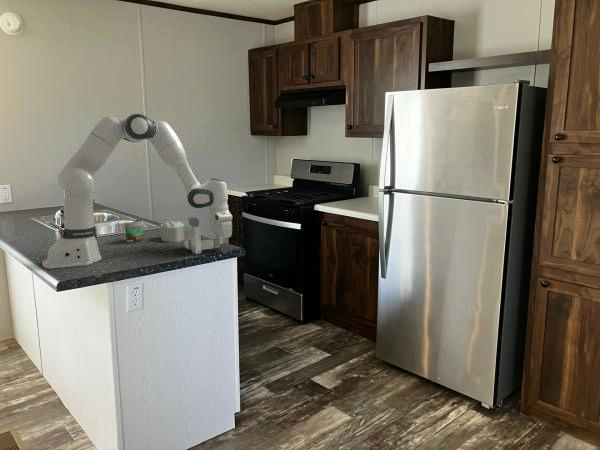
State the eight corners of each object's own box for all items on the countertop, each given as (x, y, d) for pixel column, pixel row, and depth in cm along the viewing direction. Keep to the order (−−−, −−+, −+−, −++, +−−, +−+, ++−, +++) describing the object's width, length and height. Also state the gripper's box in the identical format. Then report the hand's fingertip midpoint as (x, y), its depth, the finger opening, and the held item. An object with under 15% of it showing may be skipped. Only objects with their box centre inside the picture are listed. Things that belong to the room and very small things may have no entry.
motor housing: (195, 254, 221) (194, 220, 218) (184, 247, 234) (183, 215, 231) (201, 253, 223) (199, 219, 220) (190, 246, 235) (188, 214, 232)
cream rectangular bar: (193, 251, 226) (193, 243, 226) (190, 249, 230) (190, 241, 229) (219, 247, 233) (219, 239, 232) (216, 246, 236) (216, 238, 235)
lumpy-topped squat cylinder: (173, 242, 244) (172, 225, 242) (155, 239, 251) (154, 222, 249) (189, 238, 252) (188, 221, 250) (172, 235, 259) (171, 219, 258)
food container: (137, 244, 240) (135, 223, 238) (125, 244, 242) (123, 223, 240) (149, 238, 252) (148, 219, 250) (138, 238, 253) (137, 218, 252)
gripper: (204, 211, 239) (205, 240, 242) (220, 218, 222) (221, 248, 224) (216, 210, 242) (217, 238, 245) (233, 216, 225) (235, 247, 227)
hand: (220, 243), depth 234 cm, fingers closed
